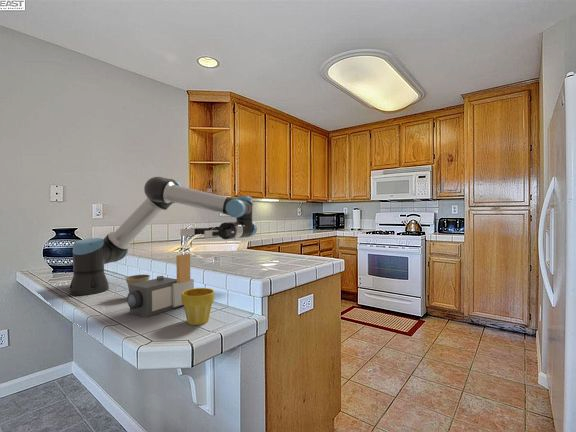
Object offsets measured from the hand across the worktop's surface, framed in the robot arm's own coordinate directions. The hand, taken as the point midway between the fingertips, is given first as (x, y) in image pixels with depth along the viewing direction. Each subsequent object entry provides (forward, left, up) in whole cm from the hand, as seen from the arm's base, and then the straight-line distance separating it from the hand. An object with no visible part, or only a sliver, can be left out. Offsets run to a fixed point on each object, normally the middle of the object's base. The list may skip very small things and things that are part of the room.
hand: (192, 233), depth 117 cm
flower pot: (-10, -26, -28) cm, 39 cm away
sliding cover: (+4, -3, -26) cm, 27 cm away
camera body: (+7, -12, -27) cm, 31 cm away
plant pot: (+19, +7, -27) cm, 34 cm away
